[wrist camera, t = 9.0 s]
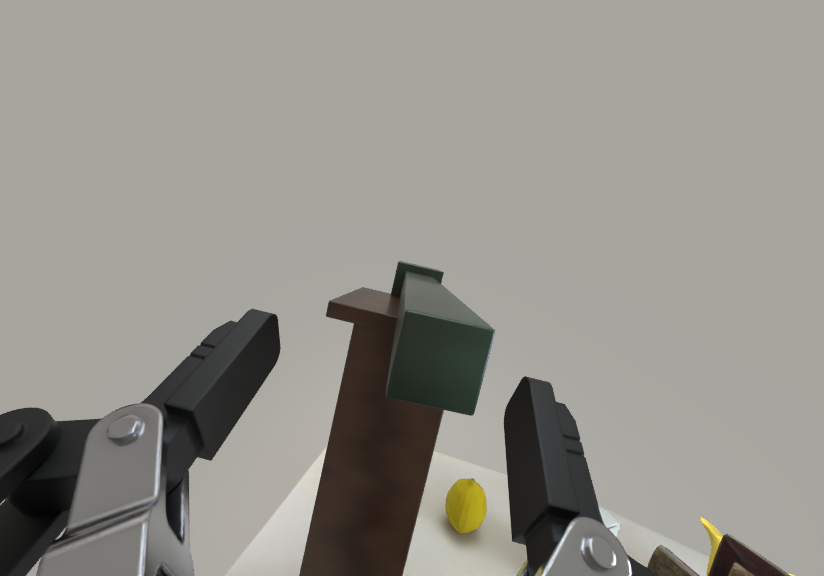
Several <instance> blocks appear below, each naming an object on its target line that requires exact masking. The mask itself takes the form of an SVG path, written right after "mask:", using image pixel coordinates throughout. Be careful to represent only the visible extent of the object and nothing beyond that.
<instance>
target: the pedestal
mask: <svg viewBox="0 0 824 576" xmlns="http://www.w3.org/2000/svg"><path fill="white" fill-rule="evenodd" d="M399 300H400V298H399V297H394V296H391V294H389V293H384V292H381V291H376V290H372V289H368V288H363V287H362V288H360V289H358V290H355V291H353V292H350V293H348V294H345V295H343V296H340V297H338V298H335V299H333V300H330V301H329V303H328V308H327V313H326V316H327V317H330V318H334V319H338V320H342V321H347V322H351V323H354V326H353V331H352V335H351V340H350V344H349V349H348V354H347V358H346V363H345V368H344V372H343V377H342V382H341V386H340V391H339V395H338V400H337V404H336V409H335V414H334V418H333V423H332V427H331V432H330V437H329V441H328V446H327V450H326V455H325V460H324V464H323V469H322V473H321V478H320V483H319V487H318V492H317V497H316V501H315V506H314V510H313V515H312V520H311V524H310V529H309V533H308V538H307V543H306V547H305V552H304V556H303V561H302V566H301V570H300V575H299V576H402V575H403V571H404V567H405V563H406V559H407V555H408V551H409V547H410V543H411V539H412V535H413V531H414V527H415V523H416V519H417V515H418V511H419V507H420V503H421V499H422V495H423V491H424V487H425V483H426V479H427V475H428V471H429V467H430V463H431V459H432V455H433V451H434V447H435V443H436V439H437V435H438V431H439V427H440V423H441V419H442V415H443V411H444V410H443V409H438V408H433V407H429V406H424V405H419V404H414V403H410V402H405V401H400V400H396V399H391V398H388V397H386V387H387V380H388V373H389V367H390V360H391V353H392V347H393V340H394V333H395V327H396V320H397V313H398V306H399Z"/></svg>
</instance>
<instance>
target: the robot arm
mask: <svg viewBox="0 0 824 576" xmlns="http://www.w3.org/2000/svg"><path fill="white" fill-rule="evenodd" d="M279 354H280V338H279V327H278V318H277V316H276V315H275V314H272V313H267V312H263V311H259V310H255V309H251V310H249V311H248V312H247V313H246V314H245V315H244V316H243V317H242V318H241V319H240V320H239V321H238V322H233V321H229V322H227V323H225V324H224V325H222V326H220V327H218V328H216V329H215V330H213V331H212V332H211V333H210V334H209V335H208V336H207V337H206V338H205V339H204V340H203V341H202V342H201V345H200V346H197V348H195V349H194V350H193V351H192V352H191V354H190V356H188V357H187V358H186V359H185V360H184V361H183V362H182V363H181V364H180V365H179V366H178V367H177V368H176V369H175V370H174V371H173V372H172V373H171V374H170V375H169V376H168V377H167V378H166V379H165V380H164V381H163V382H162V383H161V384H160V385H159V386H158V387H157V388H156V389H155V390H154V391H153V392H152V393H151V394H150V395H149V396H148V397H147V398H146V399H145V400H144V401H142V402H141V403H140V404H132V405H128V406H125V407H122V408H119V409H117V410H115V411H113V412H112V413H109V414H108V415H107V416H105V417H104V418H102V419H90V420H74V421H55V420H54V419H53V418H52V417H51V415H50V414H49V413H48V412H47V411H45V410H43V409H40V408H23V409H17V410H13V411H10V412H7V413H4V414H2V415H0V503H1V502H2V501H3V500H4V499H5V501H4V503H2V504H1V505H0V576H26V575H27V573H28V572H29V571H30V570H31V568H32V567H33V566H34V565H35V564H36V562H37V561H38V560H39V559H40V558H41V556H42V558H41V560H40V563H39V566H38V570H37V574H36V576H194V568H193V561H192V557H191V553H190V543H189V471H188V469H189V468H190V467H191V465H192V464H193V462H194V461H195V459H196V458H197V457H199V458H203V459H207V460H212V459H213V457H214V456H215V454H216V452H217V451H218V450H219V448H220V447H221V445H222V444H223V442H224V441H225V439H226V438H227V436H228V435H229V433H230V432H231V430H232V429H233V427H234V426H235V424H236V423H237V421H238V420H239V418H240V417H241V415H242V414H243V412H244V411H245V409H246V408H247V406H248V405H249V403H250V402H251V400H252V399H253V397H254V396H255V394H256V393H257V391H258V390H259V388H260V387H261V385H262V384H263V382H264V381H265V379H266V378H267V376H268V375H269V373H270V372H271V370H272V369H273V367H274V366H275V364H276V362H277V360H278V357H279ZM504 431H505V446H506V461H507V475H508V489H509V503H510V517H511V532H512V542H516V543H520V544H524V545H526V549H527V560H526V561H525V563H524V564H523V566H522V567H521V569H520V571H519V572H518V574H517V576H659V575H657V574H656V573H654V572H652V571H651V570H649V569H648V568H646V567H644V566H643V565H641V564H640V563H638V562H636V561H635V560H634V559H632V558H631V557H630V556H629V555H627V554H626V552H625V550H624V548H623V546H622V544H621V543H620V541H619V540H618V539H617V537H616V536H615V535H614V534H613V533H612V532H611V531H610V530H609V529H608V528H607V527H606V526H605V524H604V522H603V520H602V517H601V514H600V510H599V506H598V503H597V499H596V495H595V491H594V488H593V484H592V480H591V477H590V473H589V469H588V466H587V462H586V458H585V457H584V451H583V447H582V444H581V442H580V436H579V432H578V429H577V425H576V421H575V420H574V418H573V416H572V415H571V413H570V412H569V410H568V409H567V407H566V406H565V404H562V403H558V402H556V401H555V397H554V392H553V388H552V385H551V384H550V383H549V382H546V381H542V380H538V379H534V378H529V377H526V376H525V377H523V378H522V380H521V382H520V383H519V385H518V387H517V388H516V390H515V392H514V394H513V395H512V397H511V399H510V401H509V403H508V404H507V407H506V410H505V416H504ZM65 527H66V530H65V532H64V534H63V535H62V536H61V537H60V538H59V539H57V540H55V539H56V538H57V537H58V536H59V535H60V533H61V532H62V531H63V529H64V528H65Z"/></svg>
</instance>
